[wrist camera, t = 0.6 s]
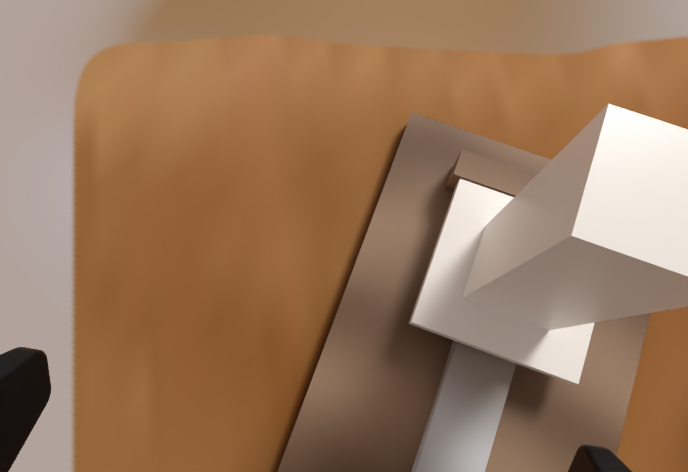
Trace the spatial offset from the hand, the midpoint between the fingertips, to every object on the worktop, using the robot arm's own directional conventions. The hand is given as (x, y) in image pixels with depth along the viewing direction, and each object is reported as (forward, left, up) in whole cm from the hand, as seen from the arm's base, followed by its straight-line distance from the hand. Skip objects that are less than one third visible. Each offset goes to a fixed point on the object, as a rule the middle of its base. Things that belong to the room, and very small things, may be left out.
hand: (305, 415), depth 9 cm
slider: (-1, -8, -12) cm, 14 cm away
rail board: (-3, -5, -14) cm, 15 cm away
